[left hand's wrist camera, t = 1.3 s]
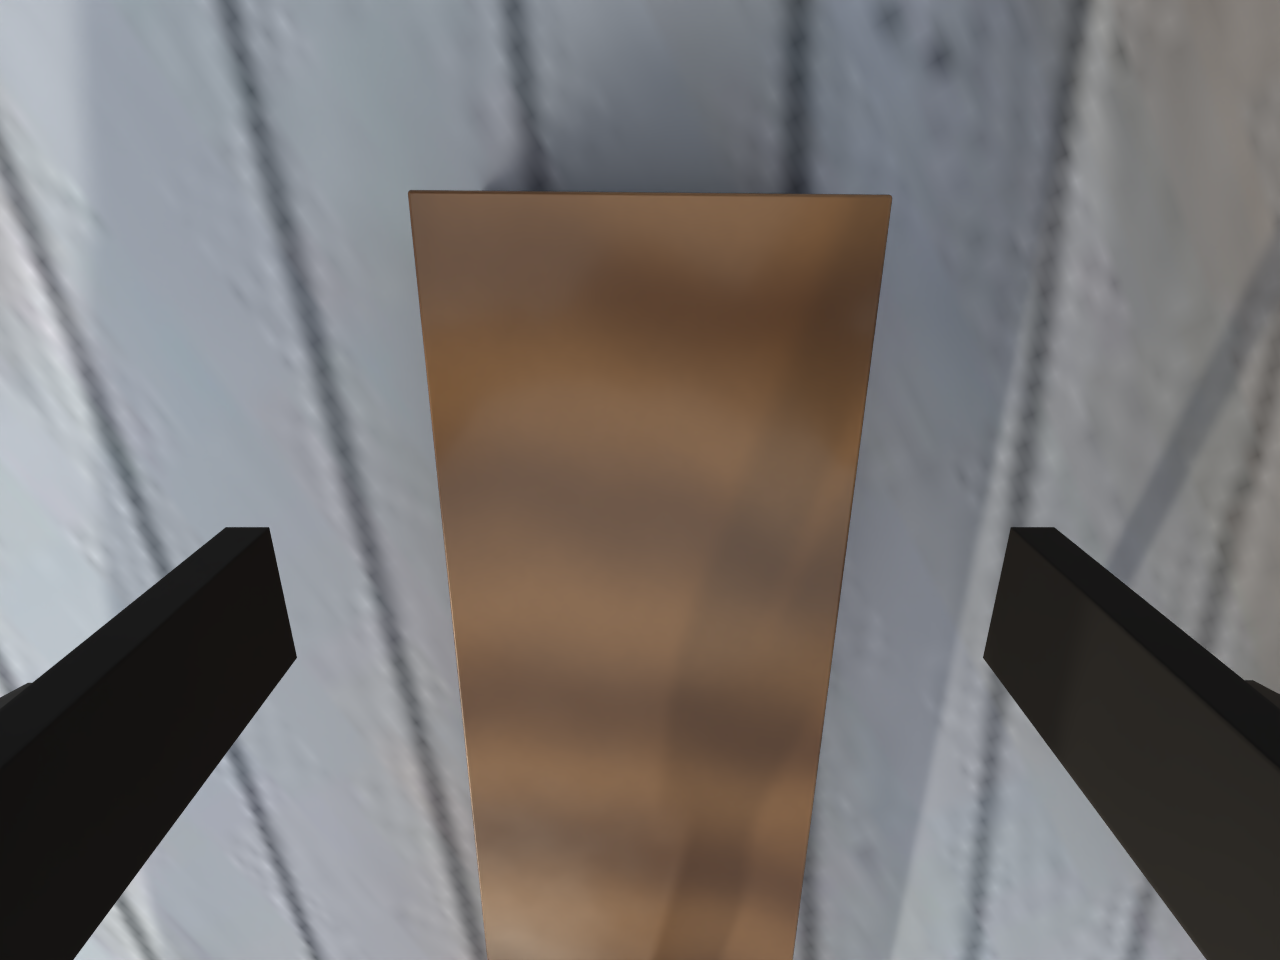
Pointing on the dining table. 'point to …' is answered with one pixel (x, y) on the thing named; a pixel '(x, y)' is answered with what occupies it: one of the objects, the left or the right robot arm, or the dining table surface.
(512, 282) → the thick board
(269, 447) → the dining table surface
